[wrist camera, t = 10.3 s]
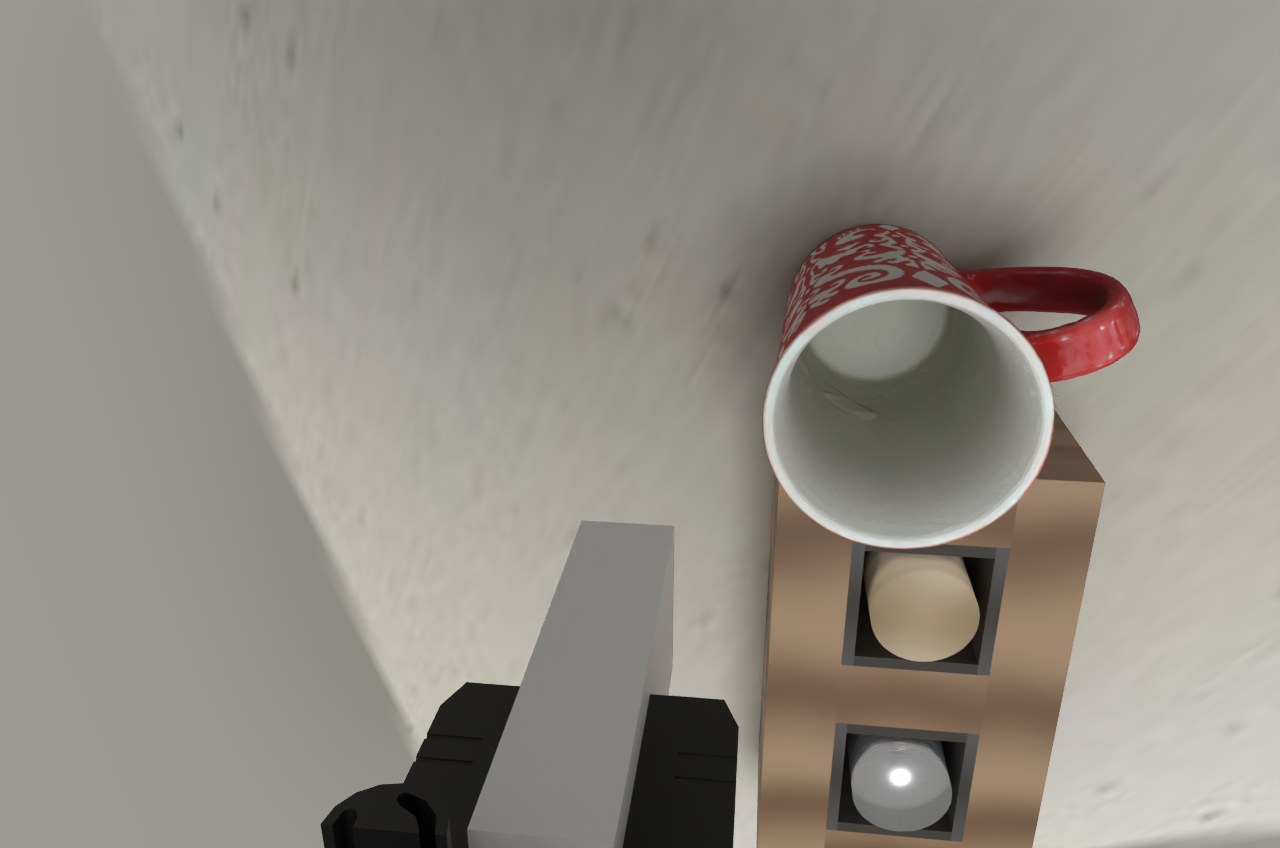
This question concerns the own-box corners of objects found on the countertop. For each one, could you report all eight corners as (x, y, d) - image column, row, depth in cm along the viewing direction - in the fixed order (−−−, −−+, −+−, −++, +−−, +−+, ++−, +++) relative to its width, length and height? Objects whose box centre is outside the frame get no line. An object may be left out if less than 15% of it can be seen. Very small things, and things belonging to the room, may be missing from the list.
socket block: (779, 392, 46) (780, 466, 38) (1050, 404, 44) (1105, 482, 37) (758, 754, 54) (756, 872, 47) (987, 774, 53) (1022, 898, 45)
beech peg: (860, 484, 46) (875, 568, 39) (954, 488, 45) (986, 575, 38) (852, 563, 47) (866, 657, 41) (943, 568, 47) (972, 665, 40)
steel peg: (844, 647, 49) (856, 751, 42) (931, 653, 49) (957, 760, 42) (838, 715, 51) (848, 826, 44) (922, 722, 50) (946, 835, 44)
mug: (798, 426, 46) (808, 579, 34) (739, 242, 43) (726, 337, 31) (1080, 348, 43) (1203, 485, 31) (1037, 145, 40) (1154, 207, 28)
